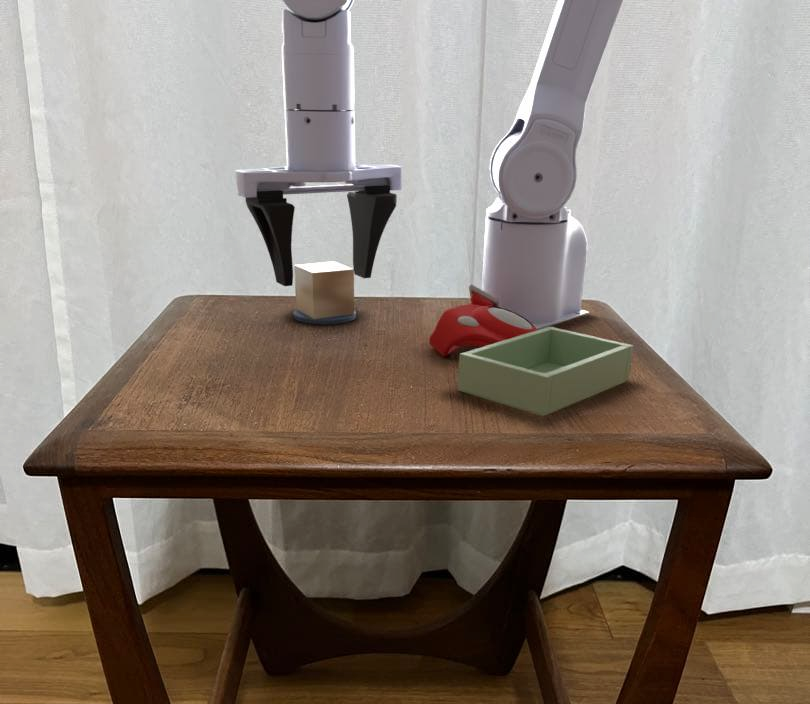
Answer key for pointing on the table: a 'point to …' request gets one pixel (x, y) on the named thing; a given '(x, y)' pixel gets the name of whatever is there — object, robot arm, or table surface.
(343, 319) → the pad
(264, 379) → the table surface
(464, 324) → the red curved piece
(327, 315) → the block
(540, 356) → the tray
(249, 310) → the table surface
